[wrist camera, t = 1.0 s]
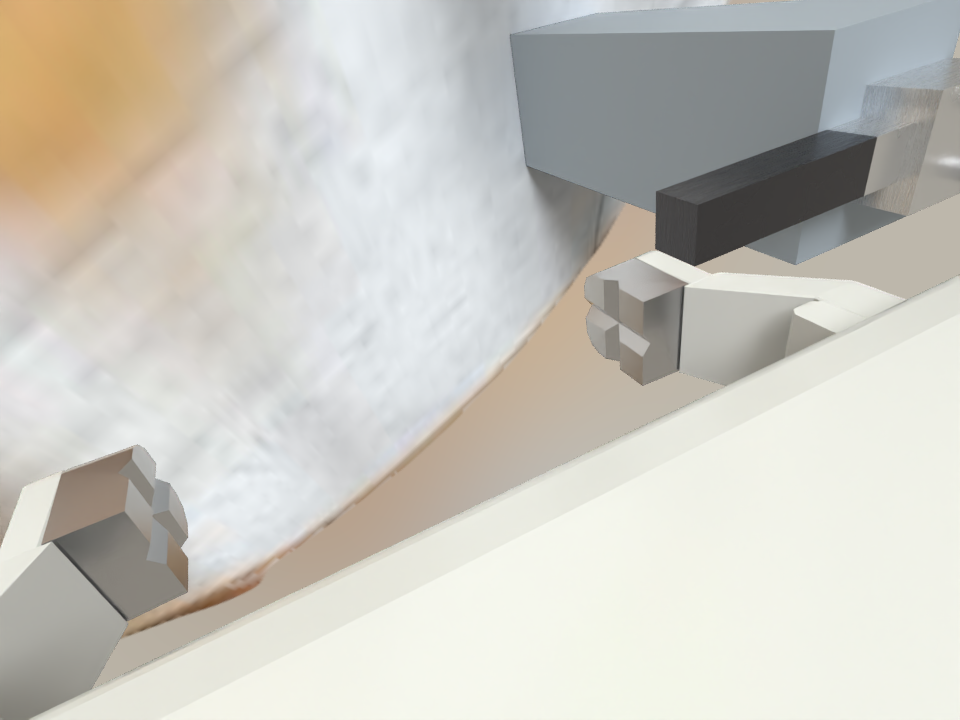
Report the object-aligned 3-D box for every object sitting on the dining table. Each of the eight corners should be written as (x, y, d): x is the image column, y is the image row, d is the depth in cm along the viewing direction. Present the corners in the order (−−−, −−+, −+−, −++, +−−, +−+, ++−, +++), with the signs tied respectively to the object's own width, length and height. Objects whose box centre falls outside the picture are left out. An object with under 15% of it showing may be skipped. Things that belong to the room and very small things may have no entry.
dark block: (655, 277, 23) (733, 316, 20) (656, 157, 20) (747, 179, 17) (914, 170, 27) (1014, 188, 24) (945, 57, 24) (1063, 60, 21)
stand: (526, 165, 48) (795, 265, 27) (509, 34, 42) (835, 29, 21) (602, 140, 50) (908, 215, 29) (596, 13, 44) (971, -11, 23)
